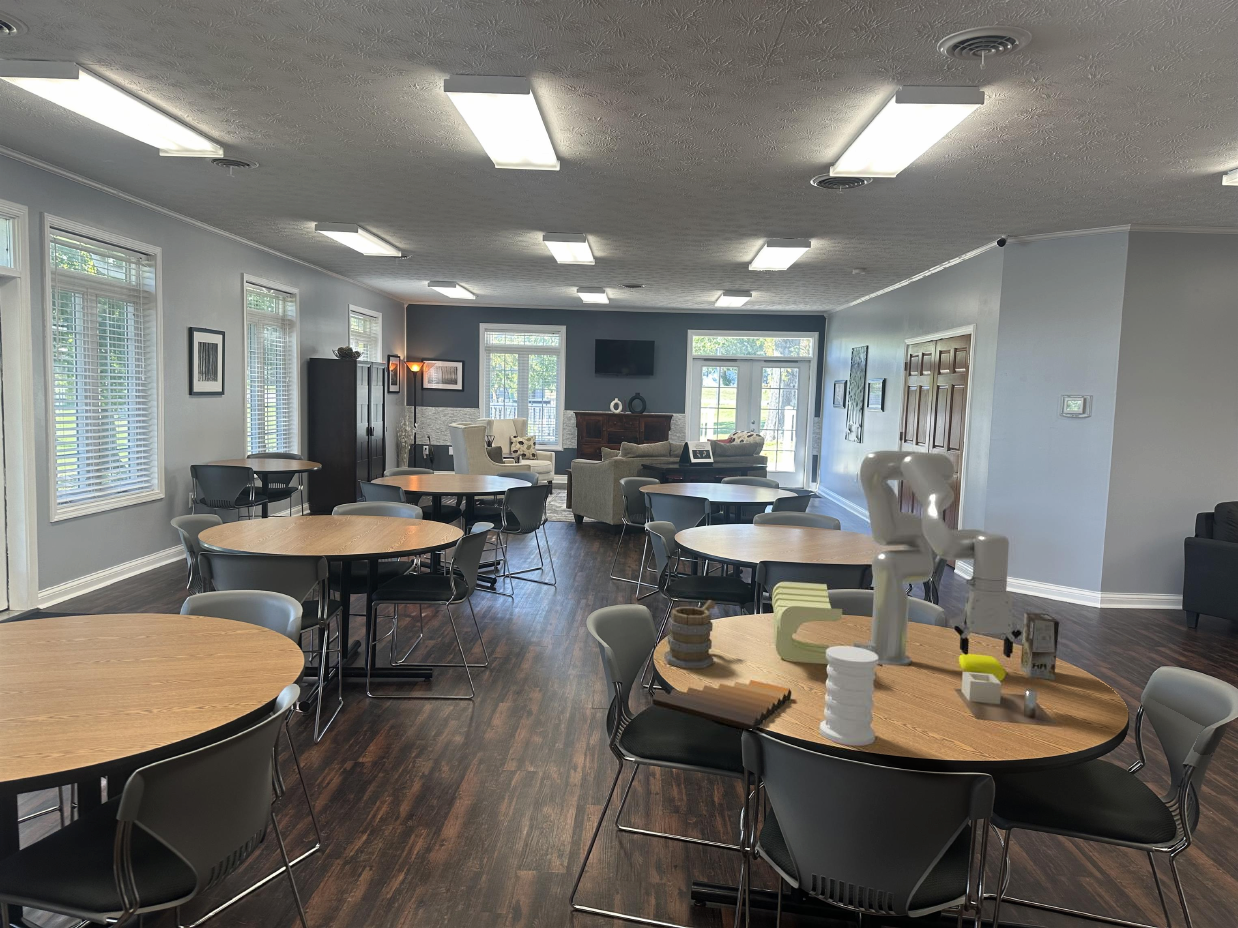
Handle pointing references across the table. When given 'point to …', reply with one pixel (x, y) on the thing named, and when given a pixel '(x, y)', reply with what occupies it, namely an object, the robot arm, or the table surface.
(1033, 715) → the post
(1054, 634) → the coffee box
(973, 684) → the collar
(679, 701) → the pan flute
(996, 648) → the table surface
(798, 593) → the slatted curved stool
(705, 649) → the tankard
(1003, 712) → the board
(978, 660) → the spray bottle
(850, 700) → the decorative container
